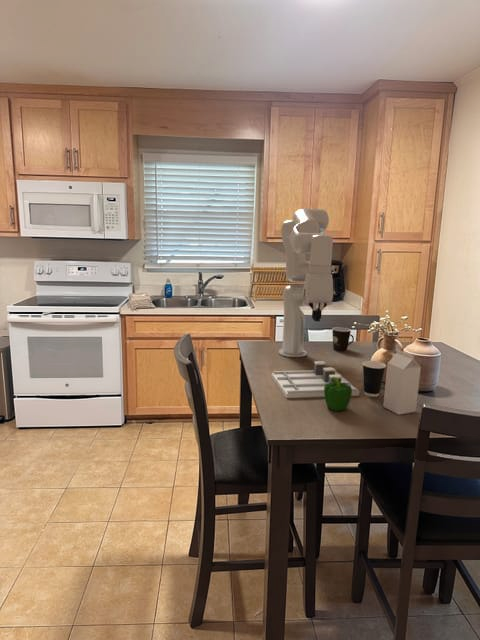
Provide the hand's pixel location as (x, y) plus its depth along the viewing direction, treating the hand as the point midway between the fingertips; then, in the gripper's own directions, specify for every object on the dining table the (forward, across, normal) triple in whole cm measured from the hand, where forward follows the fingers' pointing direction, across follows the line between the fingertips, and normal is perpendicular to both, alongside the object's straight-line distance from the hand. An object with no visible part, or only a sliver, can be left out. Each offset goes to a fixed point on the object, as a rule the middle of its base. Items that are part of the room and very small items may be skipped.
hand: (316, 320), depth 164 cm
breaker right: (+22, -4, +12) cm, 25 cm away
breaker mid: (+22, -5, +4) cm, 23 cm away
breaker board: (+24, +1, +4) cm, 24 cm away
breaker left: (+22, -4, -4) cm, 23 cm away
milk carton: (+23, -21, +28) cm, 42 cm away
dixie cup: (+24, -17, +14) cm, 32 cm away
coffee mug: (+25, -27, -42) cm, 56 cm away
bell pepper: (+23, -1, +25) cm, 34 cm away
